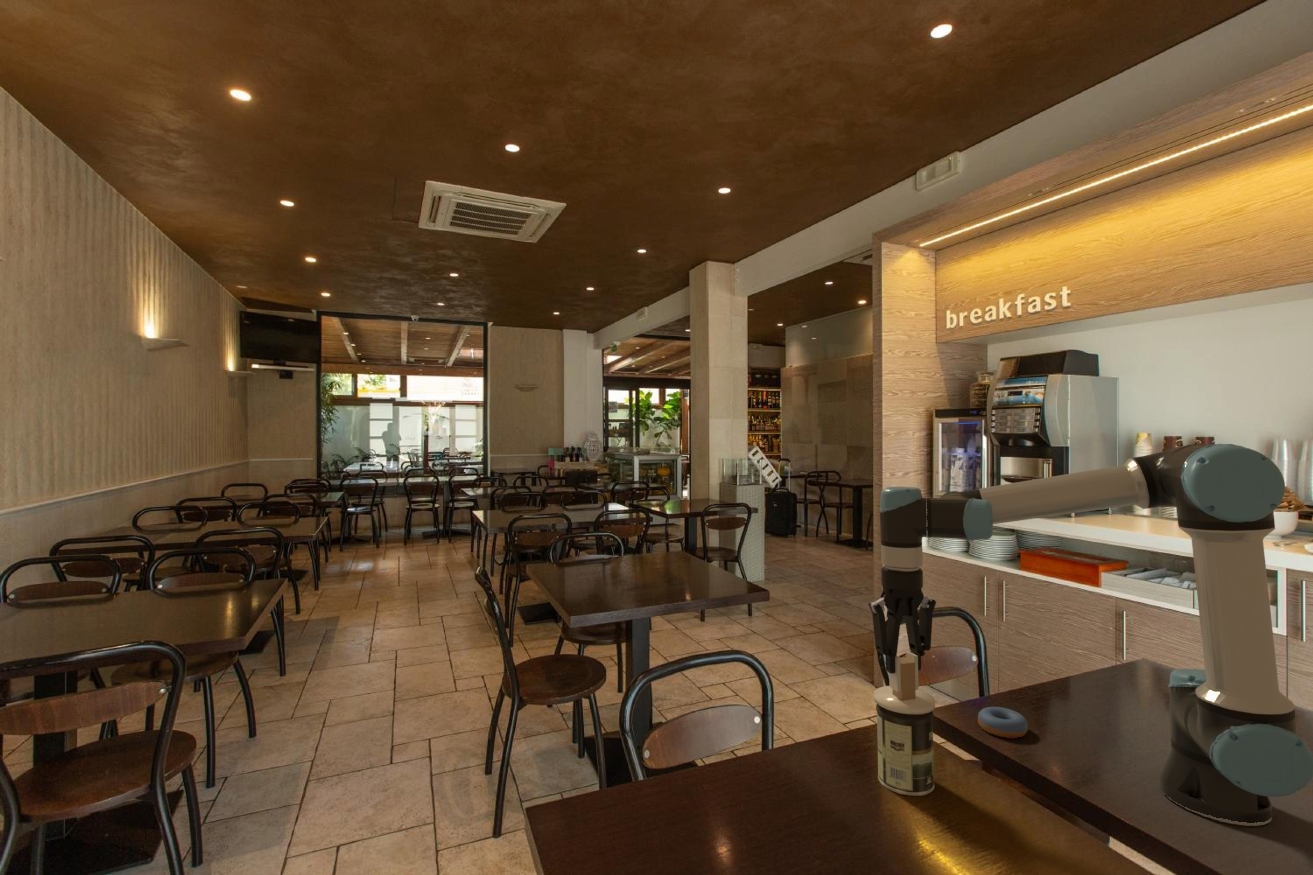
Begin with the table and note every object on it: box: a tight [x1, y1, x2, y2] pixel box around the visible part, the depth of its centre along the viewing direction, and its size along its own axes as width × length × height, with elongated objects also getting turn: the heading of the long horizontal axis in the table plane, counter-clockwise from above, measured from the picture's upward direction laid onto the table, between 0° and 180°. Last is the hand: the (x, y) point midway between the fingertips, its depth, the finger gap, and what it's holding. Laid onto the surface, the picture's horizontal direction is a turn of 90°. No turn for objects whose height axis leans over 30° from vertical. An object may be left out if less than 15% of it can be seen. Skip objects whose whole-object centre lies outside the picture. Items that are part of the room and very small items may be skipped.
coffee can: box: [875, 703, 935, 797], centre depth 120 cm, size 10×10×14 cm
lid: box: [873, 656, 936, 714], centre depth 120 cm, size 11×11×8 cm
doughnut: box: [977, 706, 1029, 739], centre depth 141 cm, size 10×10×5 cm
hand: (903, 687), depth 120 cm, fingers closed on lid, 3 cm apart
